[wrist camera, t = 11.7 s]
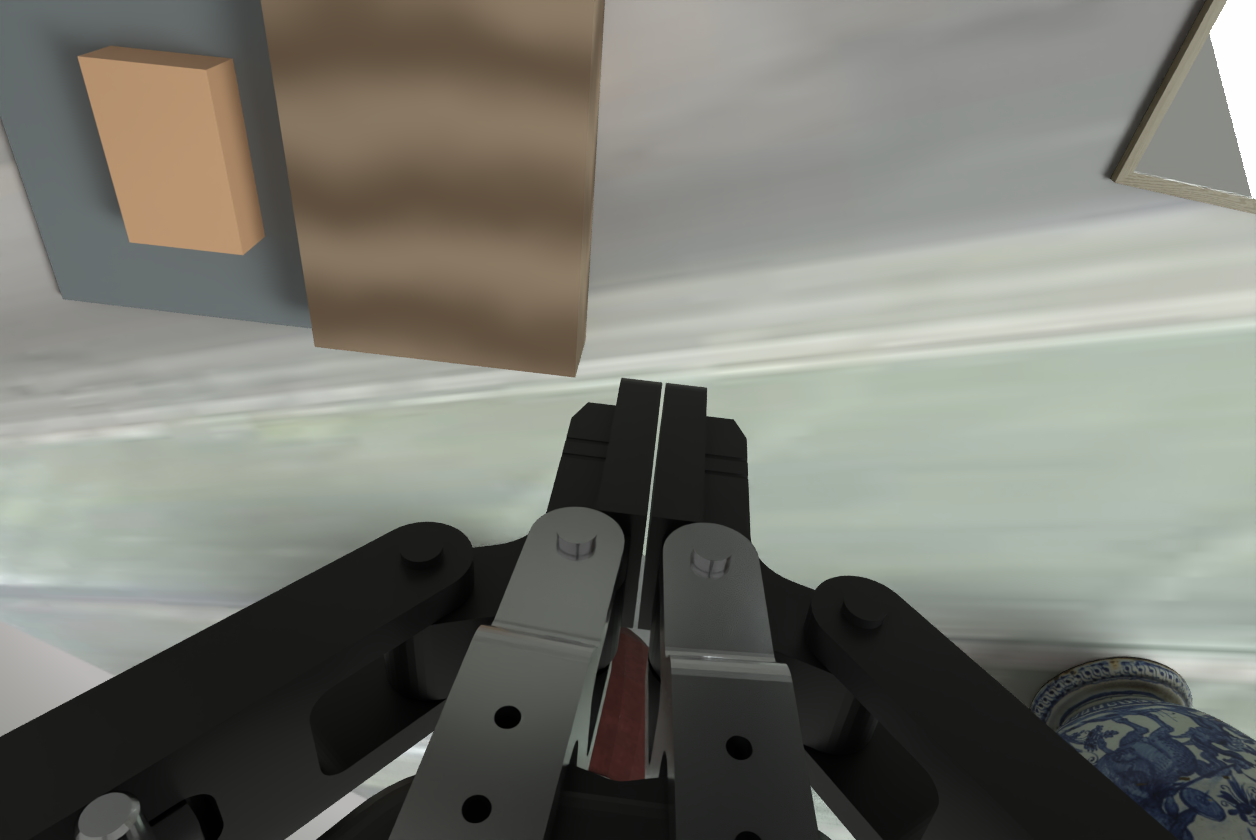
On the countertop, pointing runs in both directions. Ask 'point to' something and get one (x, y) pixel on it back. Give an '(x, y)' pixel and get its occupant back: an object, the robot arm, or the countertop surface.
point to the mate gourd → (624, 707)
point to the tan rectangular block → (175, 147)
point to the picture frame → (1203, 115)
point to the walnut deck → (442, 173)
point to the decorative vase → (1156, 745)
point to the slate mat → (79, 174)
